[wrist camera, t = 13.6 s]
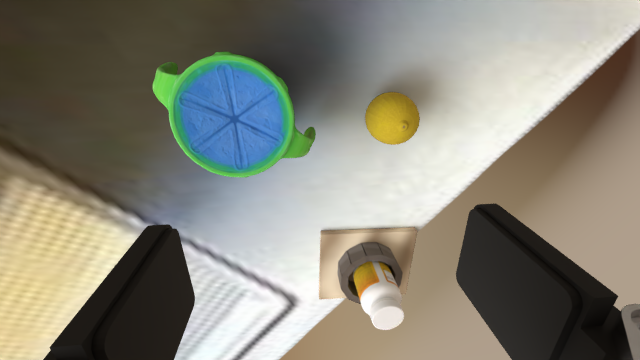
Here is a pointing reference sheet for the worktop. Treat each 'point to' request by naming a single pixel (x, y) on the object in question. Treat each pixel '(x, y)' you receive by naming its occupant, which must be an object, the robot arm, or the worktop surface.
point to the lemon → (392, 118)
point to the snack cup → (231, 114)
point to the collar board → (352, 238)
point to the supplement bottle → (379, 294)
